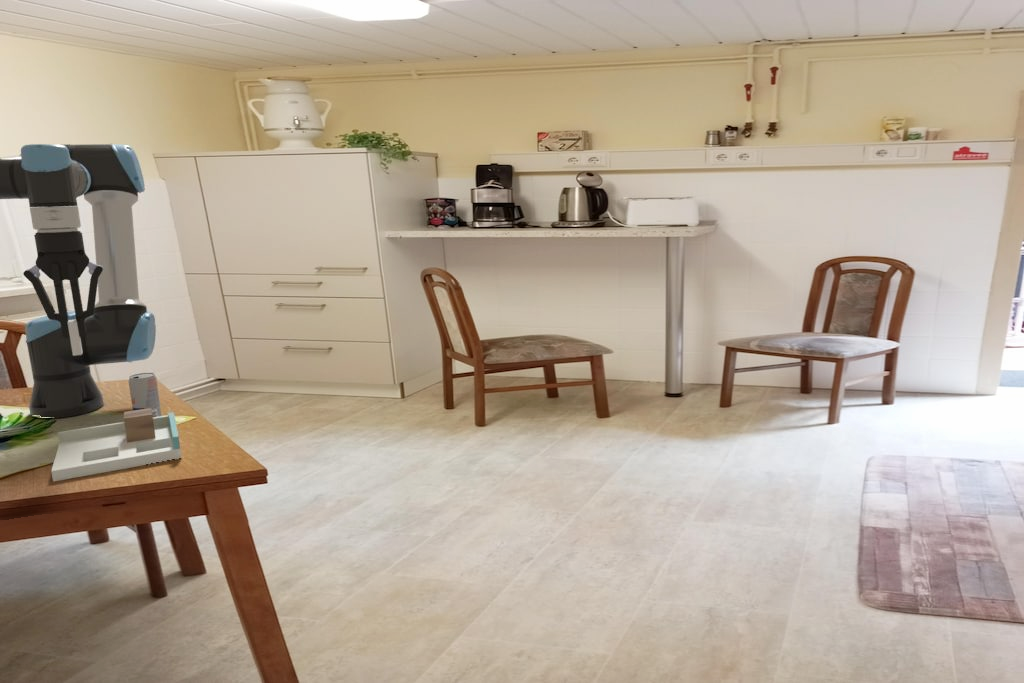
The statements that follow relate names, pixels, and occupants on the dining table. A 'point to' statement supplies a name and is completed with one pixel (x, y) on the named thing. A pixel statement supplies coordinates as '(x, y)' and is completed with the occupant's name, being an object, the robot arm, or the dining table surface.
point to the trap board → (113, 449)
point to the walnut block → (139, 425)
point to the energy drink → (145, 393)
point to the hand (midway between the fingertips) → (77, 353)
